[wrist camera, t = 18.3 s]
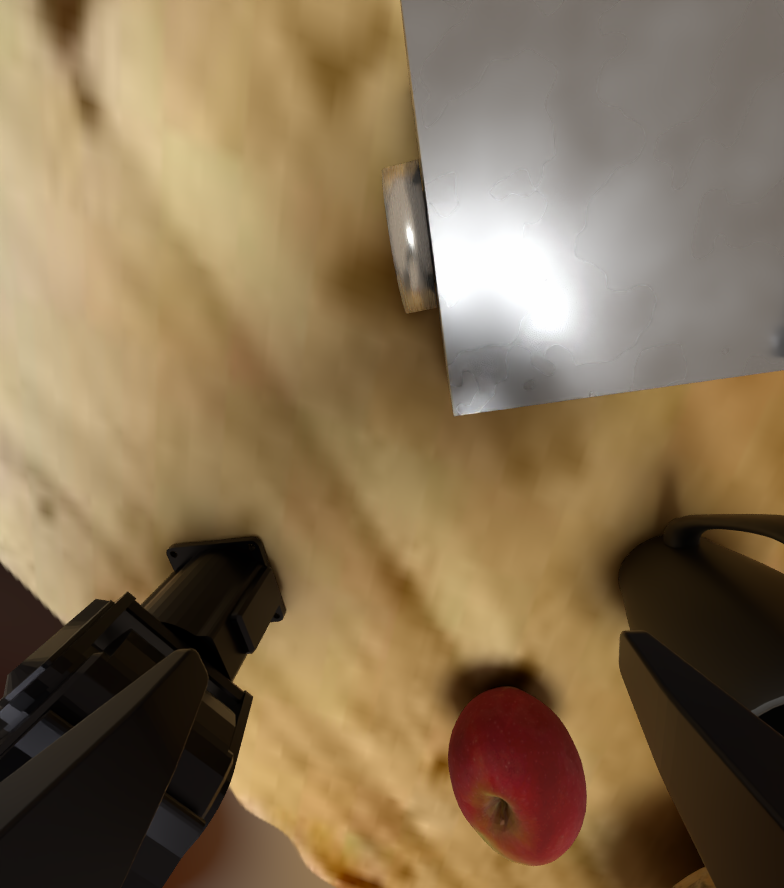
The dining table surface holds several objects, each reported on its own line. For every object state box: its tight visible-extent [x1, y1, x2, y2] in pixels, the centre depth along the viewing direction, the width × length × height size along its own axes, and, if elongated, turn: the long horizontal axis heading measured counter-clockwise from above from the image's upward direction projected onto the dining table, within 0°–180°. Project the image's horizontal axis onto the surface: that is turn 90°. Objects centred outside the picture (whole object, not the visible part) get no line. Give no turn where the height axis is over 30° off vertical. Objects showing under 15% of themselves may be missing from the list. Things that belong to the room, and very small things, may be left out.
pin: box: [382, 160, 437, 313], centre depth 13 cm, size 15×5×5 cm, turn 100°
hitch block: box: [400, 0, 784, 416], centre depth 12 cm, size 11×12×7 cm
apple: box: [448, 686, 587, 866], centre depth 22 cm, size 8×8×8 cm
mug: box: [618, 514, 784, 737], centre depth 16 cm, size 8×12×10 cm
